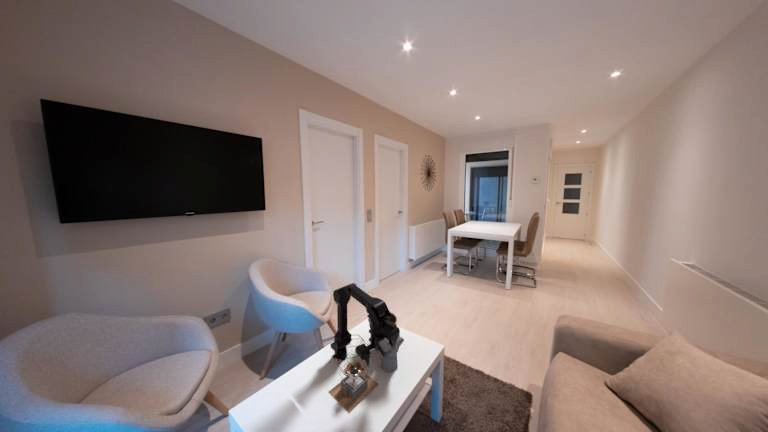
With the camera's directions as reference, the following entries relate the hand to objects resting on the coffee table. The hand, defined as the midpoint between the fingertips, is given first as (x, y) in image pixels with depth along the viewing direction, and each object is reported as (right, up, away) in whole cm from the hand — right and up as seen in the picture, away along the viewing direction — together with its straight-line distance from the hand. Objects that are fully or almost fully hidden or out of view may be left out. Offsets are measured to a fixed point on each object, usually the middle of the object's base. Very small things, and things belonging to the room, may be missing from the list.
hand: (376, 361), depth 103 cm
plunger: (-10, -10, +1) cm, 14 cm away
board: (-10, -14, +2) cm, 17 cm away
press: (-10, -13, +2) cm, 17 cm away
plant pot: (+2, -10, +31) cm, 32 cm away
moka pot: (+5, -12, +15) cm, 20 cm away
